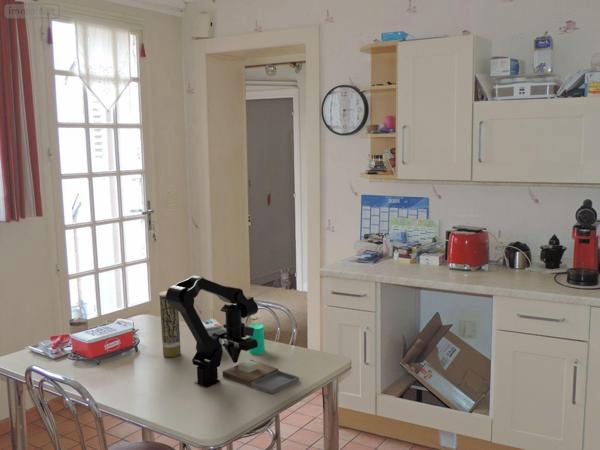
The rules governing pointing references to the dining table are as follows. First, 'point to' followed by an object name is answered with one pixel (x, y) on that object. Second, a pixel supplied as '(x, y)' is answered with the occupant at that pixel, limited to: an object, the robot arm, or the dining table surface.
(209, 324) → the light bulb box
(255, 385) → the tray
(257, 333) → the candle
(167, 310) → the brown bark cylinder
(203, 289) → the robot arm
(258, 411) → the dining table surface
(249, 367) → the tile
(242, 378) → the walnut board
